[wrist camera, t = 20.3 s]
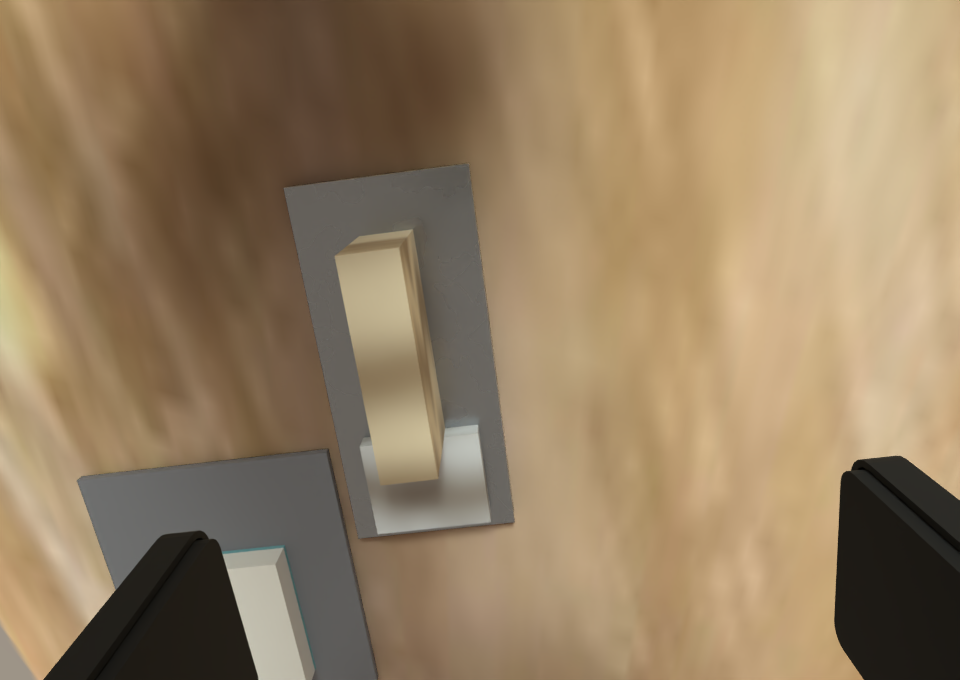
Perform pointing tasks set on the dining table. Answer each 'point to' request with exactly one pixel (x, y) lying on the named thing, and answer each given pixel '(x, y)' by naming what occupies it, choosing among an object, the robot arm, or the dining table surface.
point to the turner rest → (448, 300)
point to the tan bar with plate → (405, 395)
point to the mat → (249, 535)
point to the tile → (271, 612)
